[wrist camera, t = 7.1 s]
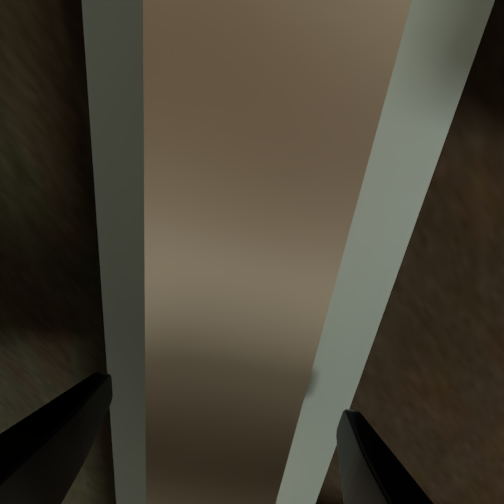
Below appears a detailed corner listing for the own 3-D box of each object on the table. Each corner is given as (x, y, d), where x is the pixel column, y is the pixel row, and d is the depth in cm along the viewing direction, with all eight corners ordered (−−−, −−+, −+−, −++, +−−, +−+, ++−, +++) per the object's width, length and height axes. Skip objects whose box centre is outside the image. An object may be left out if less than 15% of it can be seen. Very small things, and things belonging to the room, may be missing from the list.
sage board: (281, 568, 15) (282, 597, 14) (130, 545, 15) (120, 572, 14) (541, -219, 5) (601, -300, 4) (94, -280, 5) (55, -373, 4)
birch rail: (235, 573, 14) (226, 686, 11) (172, 563, 14) (146, 673, 11) (397, -173, 5) (582, -629, 2) (216, -198, 5) (139, -684, 2)
